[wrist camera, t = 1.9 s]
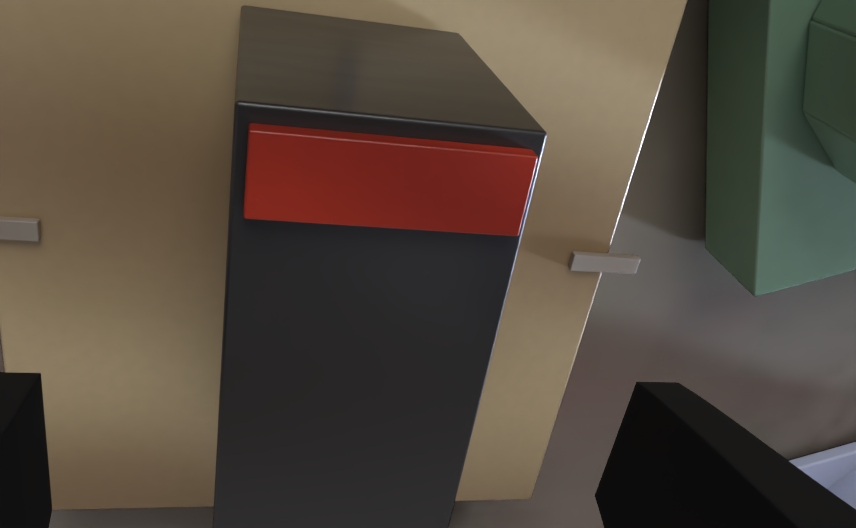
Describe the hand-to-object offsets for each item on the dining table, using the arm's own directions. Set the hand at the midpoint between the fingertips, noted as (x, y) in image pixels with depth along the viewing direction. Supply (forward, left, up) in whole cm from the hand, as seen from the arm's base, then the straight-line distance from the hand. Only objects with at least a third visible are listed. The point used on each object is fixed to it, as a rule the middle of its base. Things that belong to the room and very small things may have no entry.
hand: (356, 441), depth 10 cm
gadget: (0, 0, -5) cm, 5 cm away
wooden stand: (0, 0, -8) cm, 8 cm away
